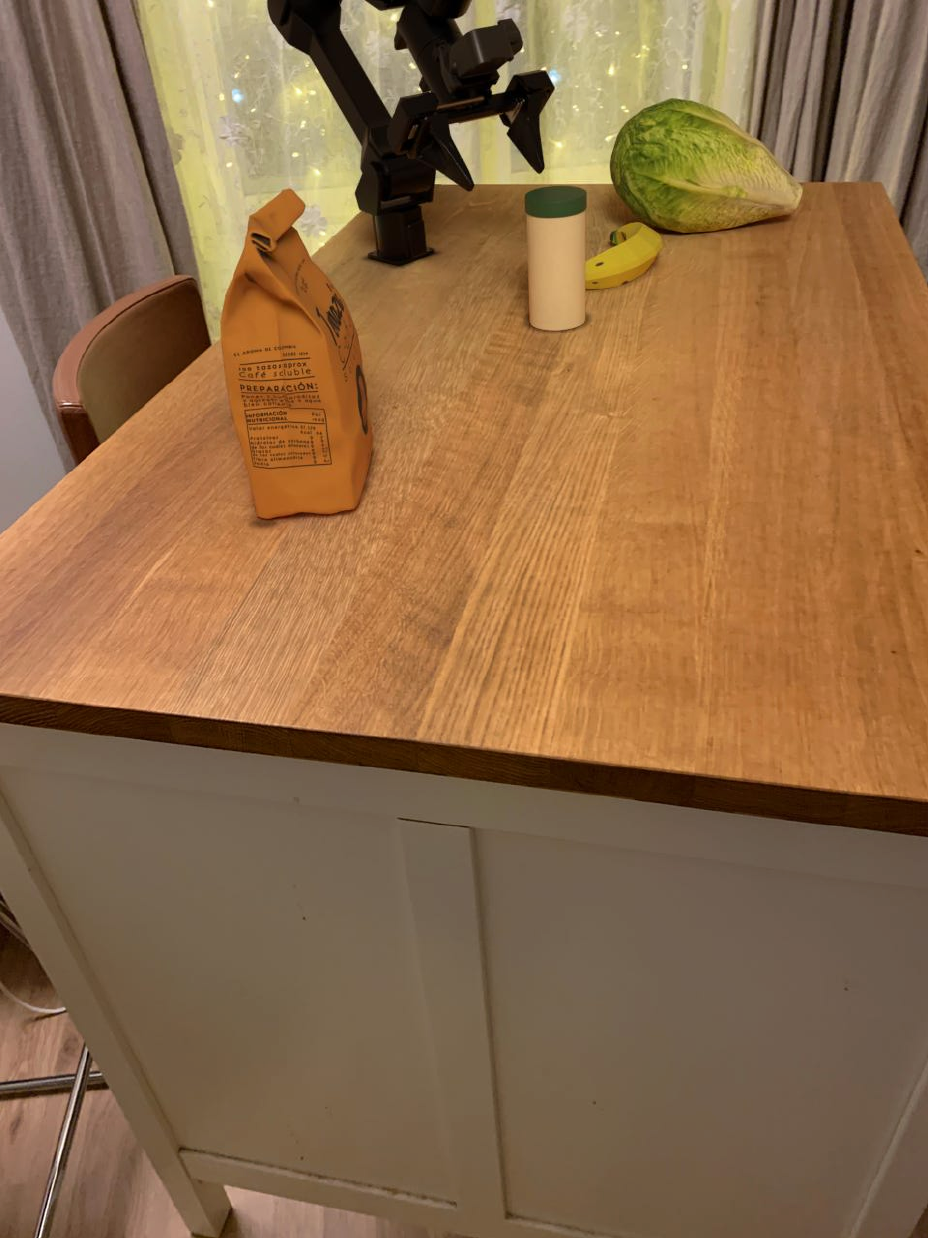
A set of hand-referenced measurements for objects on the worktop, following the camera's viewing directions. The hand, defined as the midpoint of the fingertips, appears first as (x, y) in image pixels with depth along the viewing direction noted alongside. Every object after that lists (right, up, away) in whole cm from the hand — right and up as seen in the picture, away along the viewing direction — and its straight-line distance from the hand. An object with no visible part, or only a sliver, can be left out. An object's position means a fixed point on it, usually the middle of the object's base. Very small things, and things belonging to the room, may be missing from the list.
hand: (507, 179), depth 103 cm
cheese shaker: (+5, -14, +2) cm, 15 cm away
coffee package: (-16, -36, -23) cm, 45 cm away
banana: (+12, -4, +15) cm, 20 cm away
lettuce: (+27, +5, +25) cm, 37 cm away
